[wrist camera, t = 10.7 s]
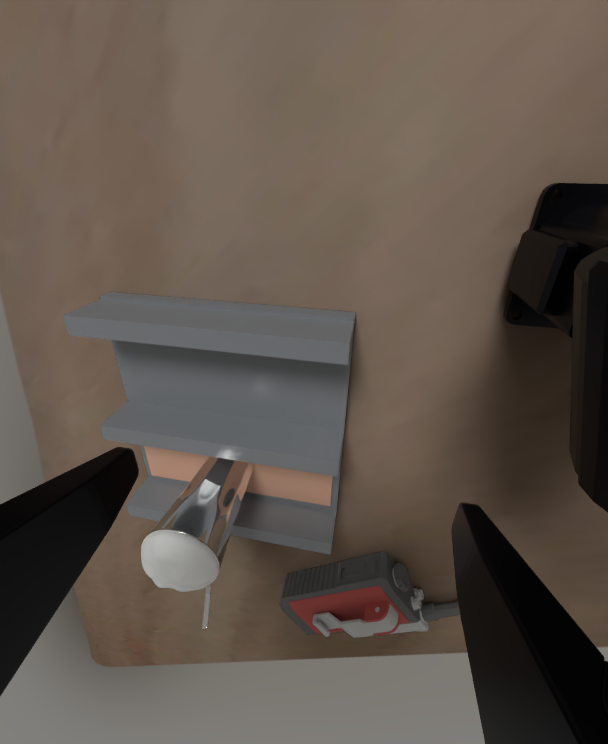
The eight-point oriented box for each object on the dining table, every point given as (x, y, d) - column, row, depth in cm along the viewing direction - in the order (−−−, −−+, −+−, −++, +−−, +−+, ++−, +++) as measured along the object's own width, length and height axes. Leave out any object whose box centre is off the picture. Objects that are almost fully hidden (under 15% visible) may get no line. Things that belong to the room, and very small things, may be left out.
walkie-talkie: (320, 620, 38) (515, 590, 29) (313, 669, 34) (535, 651, 26) (273, 571, 35) (472, 524, 27) (259, 619, 31) (487, 581, 23)
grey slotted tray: (355, 312, 20) (350, 339, 17) (336, 511, 28) (330, 556, 25) (110, 292, 23) (61, 312, 19) (158, 479, 31) (130, 517, 28)
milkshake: (242, 496, 28) (180, 636, 19) (193, 453, 27) (103, 582, 18) (281, 474, 26) (231, 620, 17) (230, 426, 25) (149, 558, 16)
